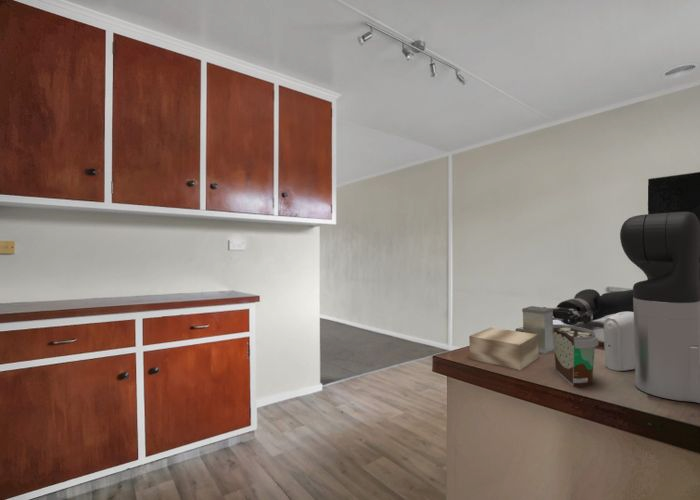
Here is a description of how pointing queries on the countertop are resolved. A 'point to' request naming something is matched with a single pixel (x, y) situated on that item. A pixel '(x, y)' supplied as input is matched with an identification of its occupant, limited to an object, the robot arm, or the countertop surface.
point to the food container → (574, 353)
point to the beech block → (504, 347)
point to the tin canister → (539, 326)
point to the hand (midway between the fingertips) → (553, 318)
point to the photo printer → (619, 341)
